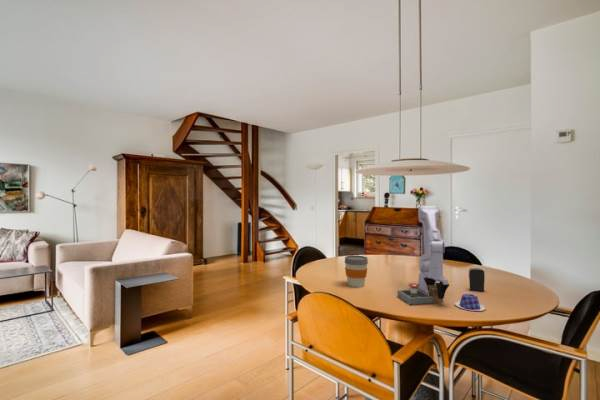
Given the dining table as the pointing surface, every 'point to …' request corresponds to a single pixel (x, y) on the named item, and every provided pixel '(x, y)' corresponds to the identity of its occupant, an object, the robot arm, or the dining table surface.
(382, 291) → the dining table surface
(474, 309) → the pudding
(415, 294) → the small red-capped bottle
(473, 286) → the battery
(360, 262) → the reusable coffee cup
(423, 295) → the tray
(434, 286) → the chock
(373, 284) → the dining table surface
